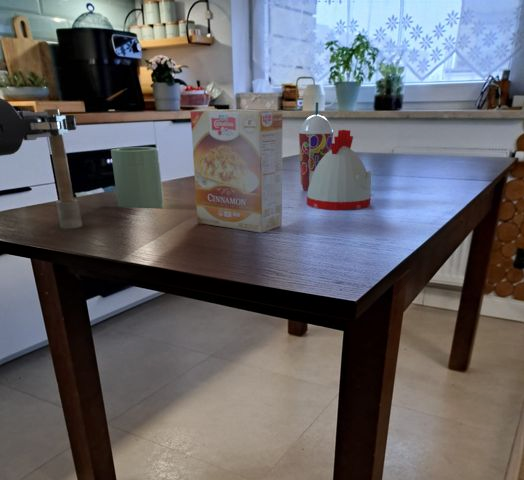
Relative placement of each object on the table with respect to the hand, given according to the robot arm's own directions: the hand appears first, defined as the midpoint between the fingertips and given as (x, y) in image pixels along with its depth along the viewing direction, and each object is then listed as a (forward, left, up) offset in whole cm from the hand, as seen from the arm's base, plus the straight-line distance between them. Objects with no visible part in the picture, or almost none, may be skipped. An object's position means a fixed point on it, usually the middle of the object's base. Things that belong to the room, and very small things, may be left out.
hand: (66, 122), depth 84 cm
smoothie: (+33, +53, -18) cm, 65 cm away
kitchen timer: (+41, +35, -18) cm, 57 cm away
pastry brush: (-1, -3, -18) cm, 18 cm away
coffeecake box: (+25, +11, -18) cm, 33 cm away
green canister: (0, +22, -18) cm, 29 cm away
